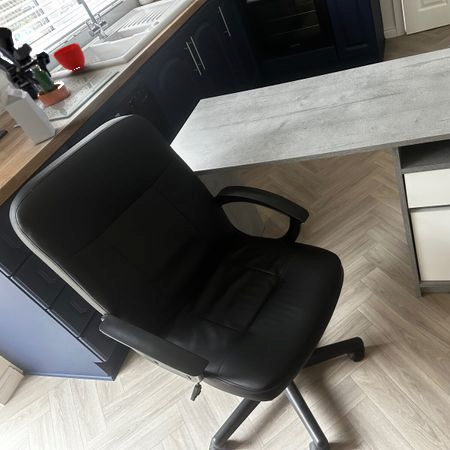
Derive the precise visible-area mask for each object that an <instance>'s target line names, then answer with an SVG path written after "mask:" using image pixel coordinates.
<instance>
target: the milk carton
mask: <svg viewBox="0 0 450 450" xmlns="http://www.w3.org/2000/svg"><path fill="white" fill-rule="evenodd" d="M5 94H6V96H7V97H6V101H5V104H4V109H5V110H6V111H7V112H8V113H9V115H10V116H11V118H13V120H14V121H15V122H16V123H17V124H18V125H19V126H20V128H21V129H22V130H23V132H24V133H25V134H26V135H27V136H28V137H29V138H30V140H31V141H32V143H34V144H35V145H37V144H40V143H42V142H44V141H46V140H48V139H50V138H53V137H55V134H56V127H55V126H54V125H53V123H52V122H51V121H50V120H49V118H48V117H47V116H46V115H45V113H44V112H43V111H42V110H41V108H40V107H39V105H38V104H37V103H36V102H35V100H33V99H32V98H31V97H30V95H29V94H28V93H27V92H25V91H23V90H22V89H21V90H20V89H16V88H12V87H11V86H10V85H7V87H6V89H5Z"/></svg>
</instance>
